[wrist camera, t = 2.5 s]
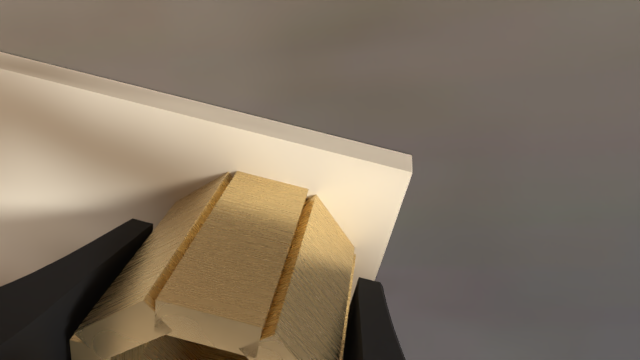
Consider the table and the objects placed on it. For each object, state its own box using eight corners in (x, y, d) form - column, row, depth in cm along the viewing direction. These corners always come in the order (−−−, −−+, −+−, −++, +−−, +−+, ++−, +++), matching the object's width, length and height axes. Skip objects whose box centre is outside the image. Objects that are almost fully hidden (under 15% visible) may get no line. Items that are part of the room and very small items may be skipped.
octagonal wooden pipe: (328, 341, 16) (301, 505, 11) (167, 299, 16) (79, 444, 11) (371, 204, 13) (356, 352, 9) (175, 155, 13) (63, 275, 9)
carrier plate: (289, 512, 23) (285, 535, 22) (14, 437, 24) (-1, 457, 23) (411, 155, 13) (412, 172, 12) (-73, 33, 13) (-106, 41, 13)
